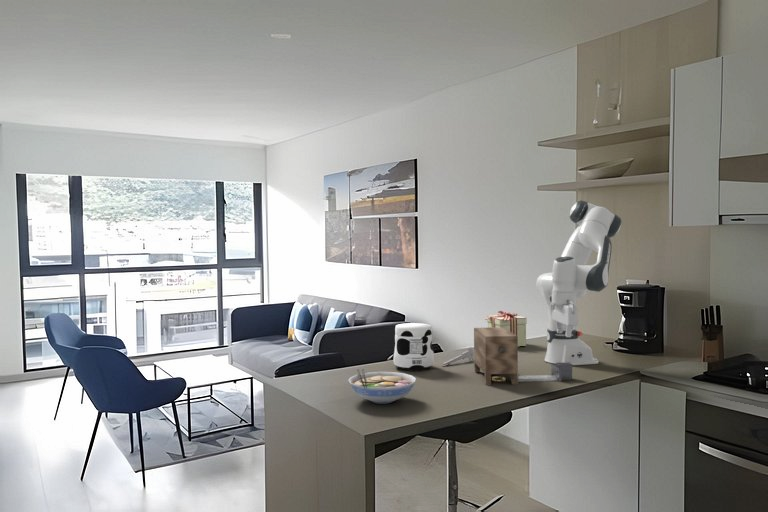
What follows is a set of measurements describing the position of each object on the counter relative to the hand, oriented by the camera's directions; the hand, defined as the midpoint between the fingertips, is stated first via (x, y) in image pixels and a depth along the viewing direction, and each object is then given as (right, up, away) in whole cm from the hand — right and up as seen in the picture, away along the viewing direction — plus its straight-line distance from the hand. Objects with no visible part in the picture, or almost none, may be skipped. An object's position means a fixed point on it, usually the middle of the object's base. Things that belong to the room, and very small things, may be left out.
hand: (563, 335), depth 223 cm
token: (-25, -18, -1) cm, 31 cm away
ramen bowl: (-70, -19, -28) cm, 77 cm away
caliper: (-37, -17, +31) cm, 51 cm away
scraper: (-8, -17, 0) cm, 19 cm away
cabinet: (-26, -17, +3) cm, 31 cm away
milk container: (-57, -17, +22) cm, 63 cm away
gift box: (-8, -16, +72) cm, 74 cm away
